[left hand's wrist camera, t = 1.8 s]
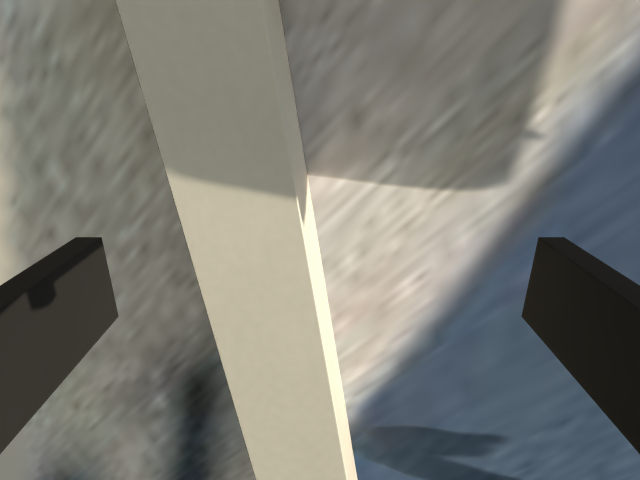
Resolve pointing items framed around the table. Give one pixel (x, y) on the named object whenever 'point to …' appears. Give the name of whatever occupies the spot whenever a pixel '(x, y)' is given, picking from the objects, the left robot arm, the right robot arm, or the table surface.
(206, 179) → the beam
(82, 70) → the table surface
